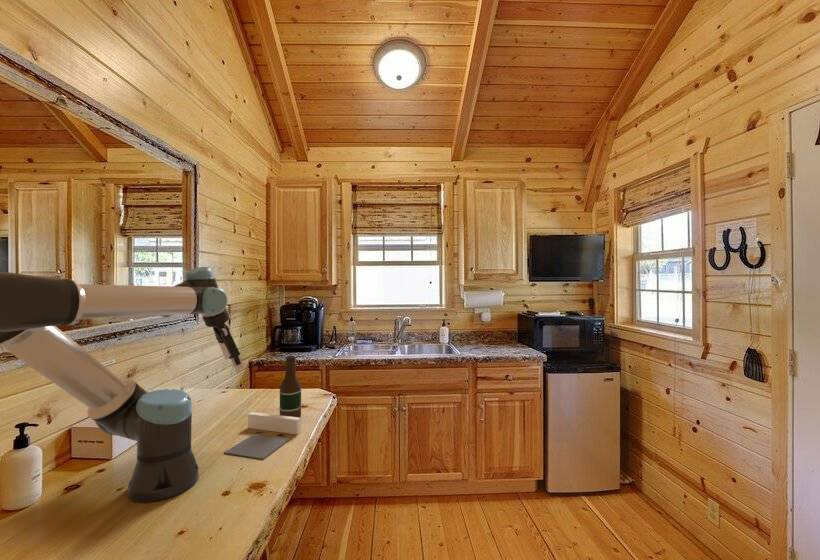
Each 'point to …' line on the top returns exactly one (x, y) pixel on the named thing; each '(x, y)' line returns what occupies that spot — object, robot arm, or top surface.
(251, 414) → the wall
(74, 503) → the top surface
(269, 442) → the mat
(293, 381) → the beer bottle
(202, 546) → the top surface
